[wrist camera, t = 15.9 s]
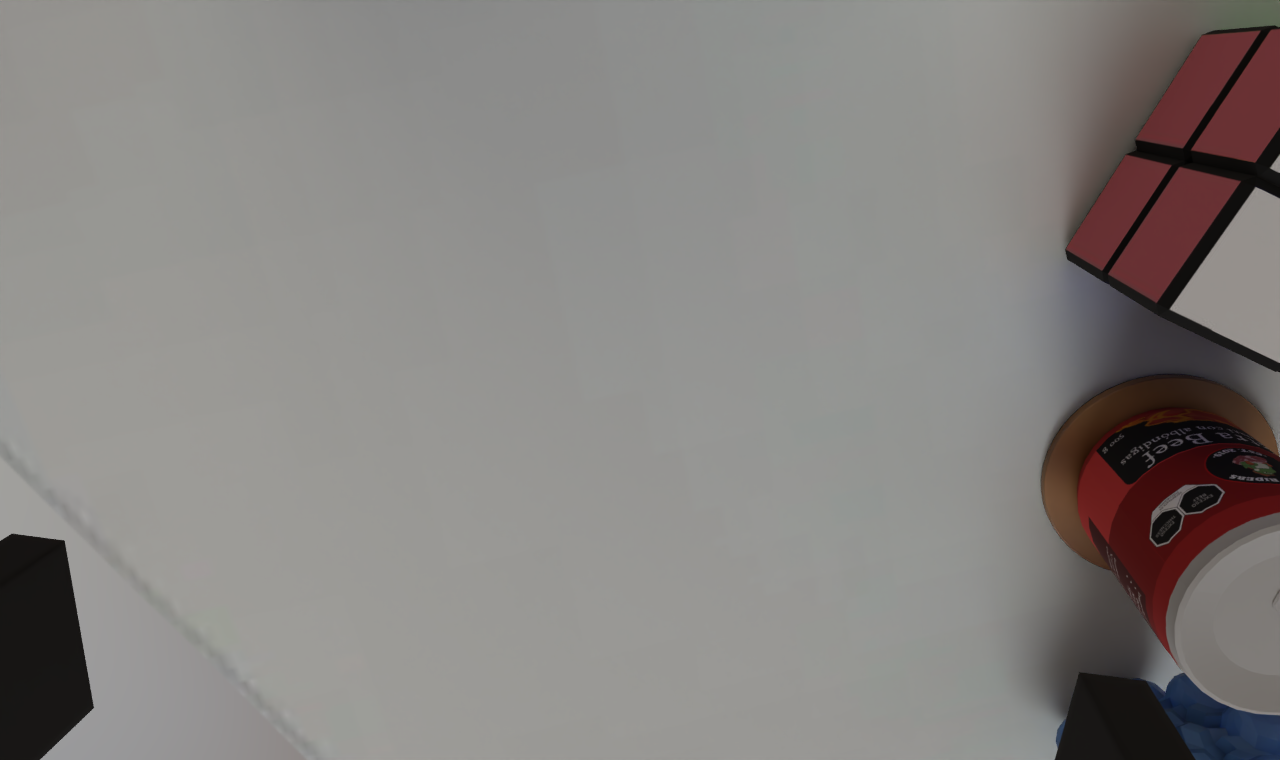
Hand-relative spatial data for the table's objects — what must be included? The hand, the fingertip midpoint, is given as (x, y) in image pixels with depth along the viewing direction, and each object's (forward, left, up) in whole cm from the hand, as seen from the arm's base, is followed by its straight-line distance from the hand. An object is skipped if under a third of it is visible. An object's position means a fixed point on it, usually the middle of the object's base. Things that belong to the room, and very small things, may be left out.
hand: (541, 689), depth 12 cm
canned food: (+9, +22, -30) cm, 39 cm away
